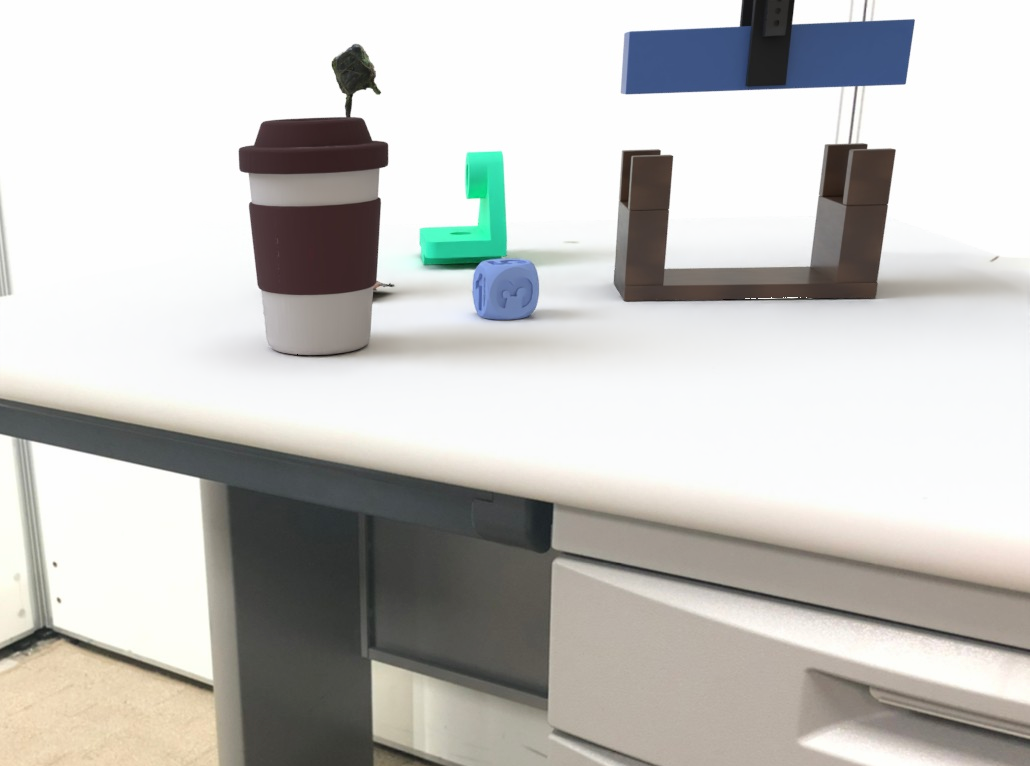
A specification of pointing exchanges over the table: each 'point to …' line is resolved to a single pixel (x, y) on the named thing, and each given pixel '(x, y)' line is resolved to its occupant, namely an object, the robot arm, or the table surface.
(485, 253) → the camera mount
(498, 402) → the table surface
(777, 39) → the robot arm
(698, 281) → the holder
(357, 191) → the coffee cup
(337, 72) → the plant with pod
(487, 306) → the decorative dice
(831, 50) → the rectangular block
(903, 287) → the table surface
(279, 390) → the table surface
